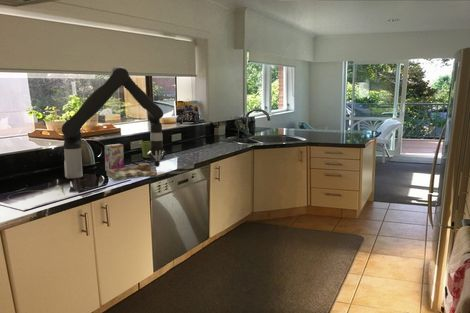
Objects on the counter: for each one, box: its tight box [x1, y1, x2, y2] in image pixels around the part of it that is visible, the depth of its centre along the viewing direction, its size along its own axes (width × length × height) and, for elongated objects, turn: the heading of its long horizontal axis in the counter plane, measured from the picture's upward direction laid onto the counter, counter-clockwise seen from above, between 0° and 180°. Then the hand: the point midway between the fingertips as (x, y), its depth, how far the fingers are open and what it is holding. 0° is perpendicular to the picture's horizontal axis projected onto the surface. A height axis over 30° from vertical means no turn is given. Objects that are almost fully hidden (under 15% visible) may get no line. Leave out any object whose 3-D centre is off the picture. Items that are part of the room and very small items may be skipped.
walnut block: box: [137, 162, 152, 171], centre depth 249 cm, size 6×6×4 cm
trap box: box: [106, 165, 158, 181], centre depth 243 cm, size 26×14×4 cm, turn 125°
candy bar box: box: [104, 143, 125, 172], centre depth 255 cm, size 11×5×16 cm, turn 141°
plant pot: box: [139, 140, 154, 159], centre depth 299 cm, size 12×12×11 cm
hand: (157, 166), depth 254 cm, fingers closed
